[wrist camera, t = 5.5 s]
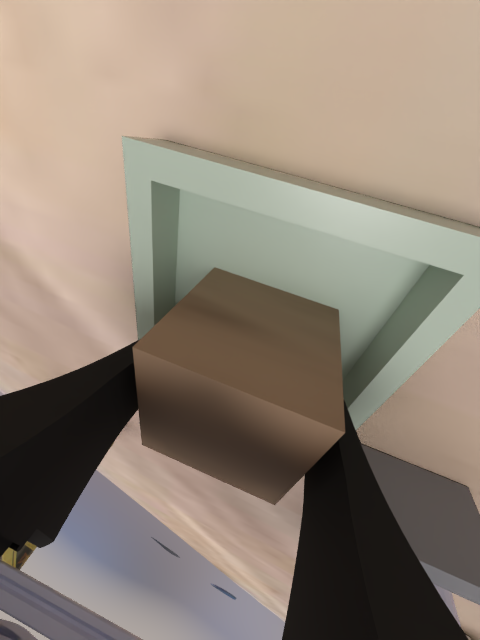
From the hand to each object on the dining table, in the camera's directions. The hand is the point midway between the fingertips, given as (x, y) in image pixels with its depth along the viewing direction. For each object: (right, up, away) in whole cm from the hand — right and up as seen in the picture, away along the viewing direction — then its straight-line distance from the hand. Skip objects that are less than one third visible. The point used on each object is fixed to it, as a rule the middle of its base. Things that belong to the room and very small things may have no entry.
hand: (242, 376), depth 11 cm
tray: (+1, +2, +3) cm, 3 cm away
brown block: (+1, +2, +2) cm, 3 cm away
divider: (+10, -7, +6) cm, 14 cm away
